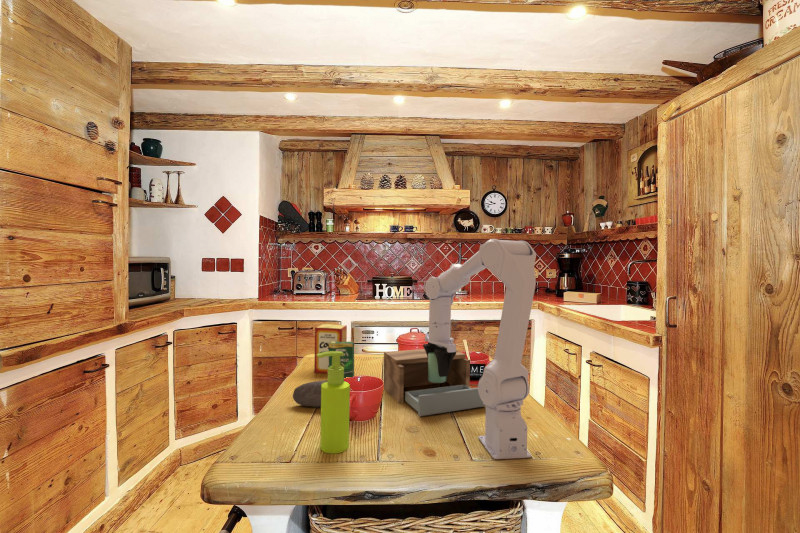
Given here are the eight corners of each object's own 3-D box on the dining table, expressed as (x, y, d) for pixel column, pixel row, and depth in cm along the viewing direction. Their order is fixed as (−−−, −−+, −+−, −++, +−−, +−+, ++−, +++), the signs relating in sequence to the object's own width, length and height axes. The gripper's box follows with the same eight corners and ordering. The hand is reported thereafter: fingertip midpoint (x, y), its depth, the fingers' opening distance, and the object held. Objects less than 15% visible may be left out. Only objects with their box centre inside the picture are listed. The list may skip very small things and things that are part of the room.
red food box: (346, 368, 138) (346, 324, 138) (341, 374, 132) (341, 327, 132) (320, 367, 140) (321, 323, 139) (314, 372, 133) (315, 326, 133)
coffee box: (327, 384, 121) (328, 342, 121) (329, 381, 124) (330, 340, 124) (352, 385, 121) (353, 343, 120) (354, 382, 124) (355, 341, 123)
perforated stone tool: (289, 409, 101) (290, 382, 100) (295, 402, 106) (296, 376, 106) (346, 411, 100) (347, 384, 100) (350, 403, 105) (350, 378, 105)
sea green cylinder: (445, 383, 100) (445, 356, 99) (427, 382, 101) (427, 355, 100) (446, 377, 104) (447, 352, 104) (429, 376, 105) (429, 351, 105)
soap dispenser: (313, 443, 82) (314, 349, 82) (345, 438, 85) (346, 347, 84) (317, 456, 77) (319, 356, 76) (351, 451, 79) (353, 354, 79)
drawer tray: (488, 405, 104) (489, 387, 104) (419, 416, 96) (419, 396, 96) (466, 392, 114) (467, 375, 114) (402, 401, 106) (402, 383, 106)
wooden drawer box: (469, 393, 115) (470, 356, 115) (399, 403, 106) (400, 362, 106) (447, 380, 127) (448, 347, 126) (383, 388, 118) (383, 352, 118)
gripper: (467, 326, 97) (465, 380, 97) (441, 317, 111) (439, 364, 111) (441, 327, 94) (440, 382, 95) (418, 318, 108) (417, 366, 108)
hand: (438, 373), depth 103 cm, fingers closed on sea green cylinder, 5 cm apart
